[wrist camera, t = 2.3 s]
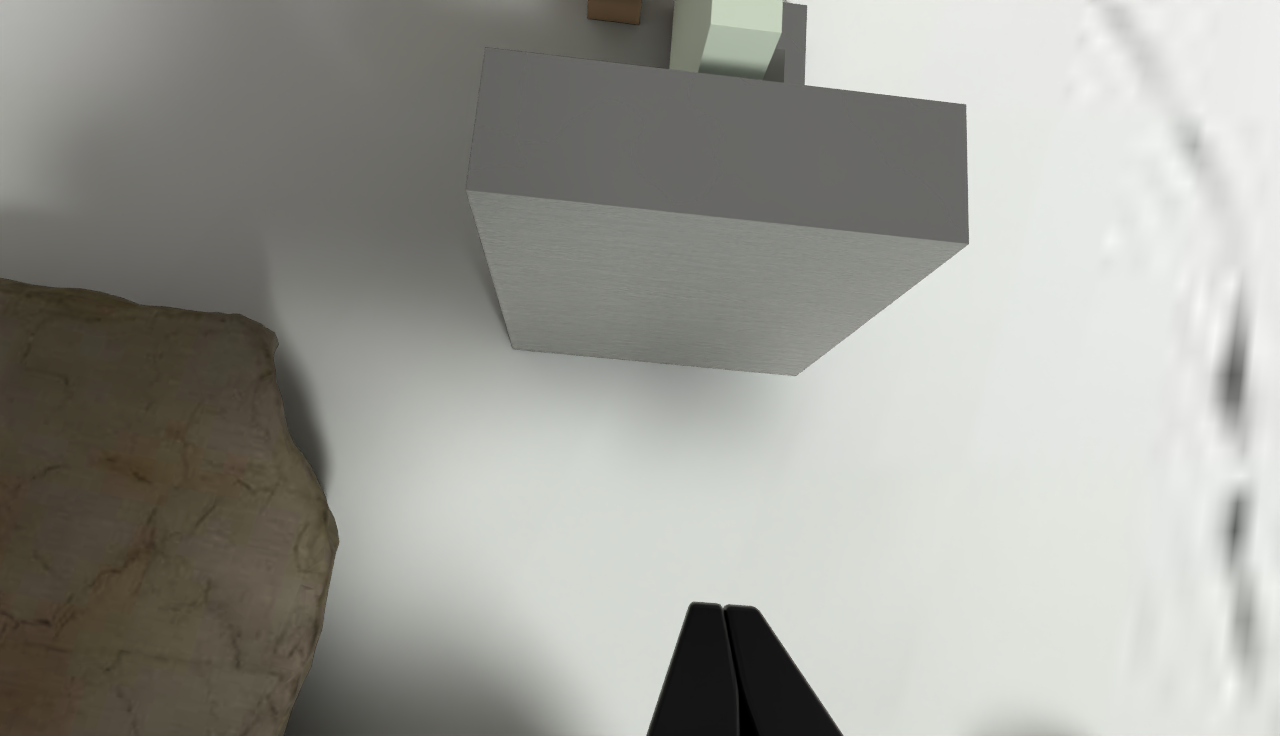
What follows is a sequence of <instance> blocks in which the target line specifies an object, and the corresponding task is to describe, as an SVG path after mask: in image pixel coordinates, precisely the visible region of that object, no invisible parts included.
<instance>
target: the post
mask: <svg viewBox="0 0 1280 736" xmlns="http://www.w3.org/2000/svg"><path fill="white" fill-rule="evenodd" d="M641 4H642V0H588V16H587V18H590V19H598V20H606V21H614V22H622V23H630V24H638V25H639V20H640V12H641Z"/></svg>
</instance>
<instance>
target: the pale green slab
mask: <svg viewBox="0 0 1280 736" xmlns="http://www.w3.org/2000/svg"><path fill="white" fill-rule="evenodd" d="M782 10H783V0H675V2H674V15H673V28H672V41H671V54H670V67H669V69H672V70H681V71H689V72H698V73H706V74H714V75H723V76H731V77H739V78H748V79H756V80H765V81H773V82H781V83H784V65H785V49H777V48H776V45H777V43H778V40H779V38H780V35H781V33H782Z"/></svg>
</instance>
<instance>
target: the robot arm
mask: <svg viewBox="0 0 1280 736" xmlns="http://www.w3.org/2000/svg"><path fill="white" fill-rule="evenodd" d="M646 736H843V734H842V733H841V731H840V730H839V728H838V727H837V725H836V724H835V722H834V721H833V719H832V718H831V716H830V715H829V713H828V712H827V710H826V709H825V707H824V706H823V704H822V703H821V701H820V700H819V698H818V697H817V695H816V694H815V692H814V691H813V690H812V688H811V687H810V685H809V684H808V682H807V681H806V679H805V678H804V676H803V675H802V673H801V672H800V670H799V669H798V667H797V666H796V664H795V663H794V661H793V660H792V658H791V657H790V655H789V654H788V652H787V651H786V649H785V648H784V646H783V645H782V643H781V642H780V640H779V639H778V637H777V636H776V635H775V633H774V632H773V630H772V629H771V627H770V626H769V624H768V623H767V621H766V620H765V618H764V617H763V615H762V614H761V612H760V611H759V610H758V609H757V608H755V607H753V606H745V605H731V604H729V605H726V606H724V607H722V606H721V605H720V604H717V603H705V602H692V603H691V604H690V605H689V607H688V610H687V613H686V616H685V619H684V622H683V625H682V628H681V631H680V634H679V637H678V640H677V643H676V646H675V649H674V653H673V656H672V659H671V662H670V665H669V668H668V671H667V674H666V677H665V680H664V683H663V686H662V689H661V692H660V695H659V698H658V701H657V705H656V708H655V711H654V714H653V717H652V720H651V723H650V726H649V729H648V732H647V735H646Z"/></svg>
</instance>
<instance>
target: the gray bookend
mask: <svg viewBox="0 0 1280 736" xmlns="http://www.w3.org/2000/svg"><path fill="white" fill-rule="evenodd" d="M806 22H807V5H800V4H792V3H784V2H783V10H782V33H781V35H780V38H779V40H778V43H777V45H776V48H777V49H785V65H784V83H781V82H773V81H765V80H756V79H748V78H739V77H731V76H723V75H714V74H706V73H698V72H689V71H681V70H672V69H664V68H656V67H647V66H639V65H630V64H622V63H614V62H605V61H597V60H589V59H580V58H572V57H563V56H555V55H547V54H538V53H530V52H522V51H513V50H505V49H496V48H488V47H485V54H484V61H483V68H482V76H481V83H480V90H479V97H478V104H477V112H476V119H475V126H474V133H473V141H472V148H471V155H470V162H469V169H468V177H467V184H466V193H467V196H468V200H469V203H470V206H471V210H472V213H473V216H474V220H475V223H476V226H477V230H478V233H479V236H480V240H481V243H482V246H483V250H484V253H485V257H486V260H487V263H488V267H489V270H490V273H491V277H492V280H493V283H494V287H495V290H496V293H497V297H498V300H499V304H500V307H501V310H502V314H503V317H504V320H505V324H506V327H507V330H508V334H509V337H510V340H511V344H512V347H513V349H517V350H527V351H538V352H548V353H559V354H569V355H580V356H590V357H601V358H611V359H622V360H633V361H643V362H654V363H664V364H675V365H685V366H696V367H706V368H717V369H727V370H738V371H749V372H759V373H770V374H780V375H791V376H797V375H798V374H799V373H801V372H802V371H803V370H805V369H806V368H807V367H808V366H810V365H811V364H812V363H814V362H815V361H816V360H818V359H819V358H820V357H822V356H823V355H824V354H825V353H827V352H828V351H829V350H831V349H832V348H833V347H835V346H836V345H837V344H839V343H840V342H841V341H843V340H844V339H845V338H846V337H848V336H849V335H850V334H852V333H853V332H854V331H856V330H857V329H858V328H860V327H861V326H862V325H863V324H865V323H866V322H867V321H869V320H870V319H871V318H873V317H874V316H875V315H877V314H878V313H879V312H881V311H882V310H883V309H884V308H886V307H887V306H888V305H890V304H891V303H892V302H894V301H895V300H896V299H898V298H899V297H900V296H901V295H903V294H904V293H905V292H907V291H908V290H909V289H911V288H912V287H913V286H915V285H916V284H917V283H918V282H920V281H921V280H922V279H924V278H925V277H926V276H928V275H929V274H930V273H932V272H933V271H934V270H936V269H937V268H938V267H939V266H941V265H942V264H943V263H945V262H946V261H947V260H949V259H950V258H951V257H953V256H954V255H955V254H956V253H958V252H959V251H960V250H962V249H963V248H964V247H966V246H967V245H968V244H969V228H968V177H967V127H966V104H957V103H949V102H941V101H932V100H924V99H915V98H907V97H899V96H890V95H882V94H874V93H865V92H857V91H848V90H840V89H832V88H823V87H815V86H807V85H804V83H805V53H806Z"/></svg>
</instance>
